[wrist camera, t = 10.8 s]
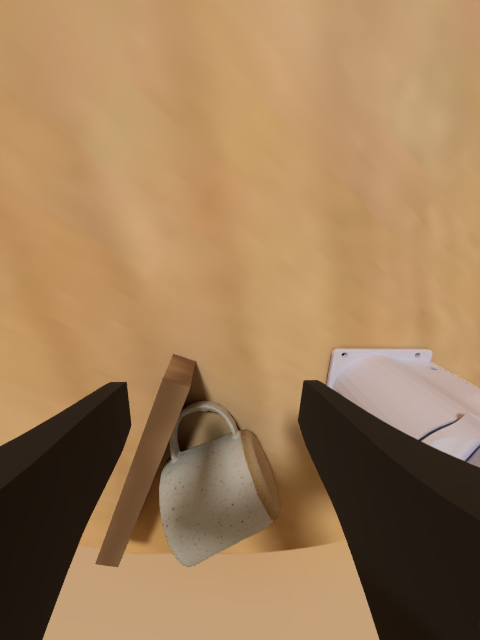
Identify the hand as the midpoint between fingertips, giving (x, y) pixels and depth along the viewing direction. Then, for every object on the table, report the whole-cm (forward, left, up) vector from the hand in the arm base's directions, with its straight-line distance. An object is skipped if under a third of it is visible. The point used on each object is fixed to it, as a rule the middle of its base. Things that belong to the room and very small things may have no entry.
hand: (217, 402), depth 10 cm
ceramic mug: (0, +13, -11) cm, 16 cm away
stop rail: (+6, +13, -10) cm, 17 cm away
